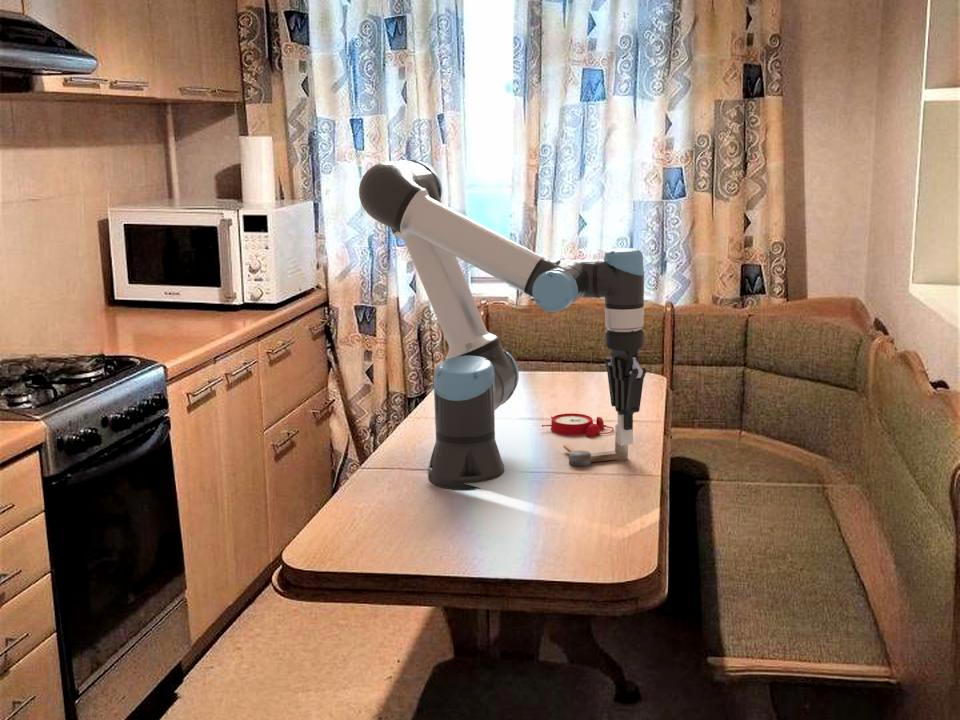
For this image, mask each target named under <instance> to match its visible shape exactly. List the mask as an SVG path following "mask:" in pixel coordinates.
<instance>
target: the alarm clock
mask: <svg viewBox="0 0 960 720" xmlns="http://www.w3.org/2000/svg"><path fill="white" fill-rule="evenodd" d="M550 419H551V421H550V422H551V423H550V424H541V427H542V428H544V427H550V431H551V432H552V433H553V434H557V435H561V436H562V435H564V436H582V435H583V436H584V435H585V436H586V438H594V437H596V436H599V435H600V434H601V435H606V434H608V435H609V434H611V433H612V432H614V431H615V429H614V427H612V426H607V424H605V422H604V420H603V418H602V417H601V416H596V422H595V423H594V420H593V417H591V416H590V415H587V414H582V413H574V412H572V413H561V414H556V415H554V416H551V417H550ZM605 428H607V429H612V430H610V431H609V432H601V431H604V429H605Z"/></svg>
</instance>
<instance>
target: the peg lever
mask: <svg viewBox="0 0 960 720" xmlns="http://www.w3.org/2000/svg"><path fill="white" fill-rule="evenodd" d="M614 428H615V429H614V439H615V440H614V450H611V451H602V452H590V451H587V450H583V449H582V450H575V448H573V447H572V446H571V445H569V444H566V443H565V444H563V449H565V450H566V451H567V452H568V464H569V465H570V466H572V467H577V468H582V467H583V468H584V467H588V466H591V465H592V463H595V462H603V461H604V462H605V461H612V460H616V461H622V462H623V461H627V460H629V445H623V446H620V445H619V444H618V423H617V424H615V425H614Z"/></svg>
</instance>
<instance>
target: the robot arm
mask: <svg viewBox="0 0 960 720" xmlns="http://www.w3.org/2000/svg"><path fill="white" fill-rule="evenodd" d="M442 194H443V188H442V183H441V179H440V177H439V175H438V174H437V172H436V171H435V169H433V168H432V167H431V166H430V165H428V164H426V163H425V162H422V161H418V160H416V159H401V160H398V161H395V160H394V161H384V162H383V161H382V162H379V163H377V164H375V165H372V166H371V167H370V168H369V169H368V170H367V171H366V172H365V173H364V175H363V176H362V178H361V179H360V182H359V187H358V197H359V201H360V204H361V206H362V207H363V210H364V211H365V212H366V214H367V215H368V216H370V217H371V218H372V219H373V220H374V221H377V222H378V223H380V224H382V225H384V226H386V227H388V228H390V229H391V230H390V231H391V232H392V234H393V236H394V237H395V238H396V237H397V238H399V239H401V240H403V241H404V244H405V247H406V248H407V251H408V252H409V255H410V258H411V260H412V262H413V265H414V267H415V269H416V272H417V275H418V277H419V279H420V281H421V282H420V283H421V284H422V287H423V289H424V291H425V294H426V295H427V298H428V301H429V302H430V305H431V308H432V309H433V312H434V315H435V317H436V319H437V322H438V324H439V327H440V329H441V331H442V334H443V336H444V338H445V340H446V343H447V345H448V351H447V354H446V356H445V359H444V360H443V361H440V362H439V363H438V365H436V367H435V369H434V372H433V375H434V376H433V377H434V378H433V383H432V385H433V387H432V388H433V395H434V397H433V399H434V417H435V418H434V423H435V424H434V425H435V443H434V446H433V449H432V452H431V456H430V461H429V464H428V466H427V478H428V481H429V482H430V483H431V484H433V485H435V486H437V487H440V488H444V489H450V490H459V491H460V490H476V489H480V487H478V486H475V485H471V484H477V483H484V482H488V481H491V480H494V479H497V478H499V477H500V476H502V475H503V474H504V473H505V464H504V462H503V460H502V457H501V453H500V449H499V447H498V444H497V441H496V432H495V431H496V430H495V428H496V426H495V425H496V424H495V422H496V421H495V419H496V418H495V417H496V416H495V411H496V410H497V409H498V408H499V407H500V406H501V405H504V404H505V403H506V402H507V401H508V400H510V398H511V397H512V396H513V394H514V392H515V391H516V389H517V386H518V384H519V380H520V379H519V377H520V374H519V367H518V364H517V361H516V360H515V359H514V357H513V356H512V354H511V353H509V352H508V351H506V350H505V349H503V346H502V344H501V342H500V339H499V337H498V335H496V334H494V333H491V332H489V331H488V329H487V327H486V325H485V323H484V320H483V318H482V315H481V312H480V311H479V309H478V305H477V303H476V301H475V298H474V296H473V294H472V291H471V289H470V287H469V284H468V281H467V279H466V277H465V275H464V272H463V270H462V267H461V265H460V263H459V260H458V258H459V259H460V260H462V261H464V262H465V263H468V264H470V265H471V266H473V267H475V268H477V269H479V270H480V271H483V272H484V273H486V274H488V275H490V276H492V277H494V278H496V279H498V280H499V281H501V282H504V283H505V284H507V285H509V286H511V287H513V288H514V289H517V290H518V291H521V292H522V293H523V294H526V295H527V296H529V297H530V298H533V300H534V302H535V304H536V305H537V306H538V307H539V308H540V309H542V310H544V311H547V312H551V313H554V312H559V311H562V310H563V311H564V310H566V309H567V308H569V307H571V306H572V304H573V303H575V302H576V301H578V300H579V299H593V298H595V299H604V326H605V328H606V330H605V332H604V334H605V335H604V336H605V337H604V338H605V339H604V340H605V345H604V346H605V347H606V349H608V350H611V352H610V357H605V358H604V364H605V368H606V374H607V381H608V387H609V388H608V390H609V397H610V404H611V407H614V408H615V411H616V412H617V424H618V444H619V445H620V446H623V445H628V446H629V445H633V443H634V438H633V437H634V418H633V417H634V414H635V413H639V412H640V408H641V402H642V401H641V400H642V393H643V387H644V386H643V385H644V379H645V376H646V374H647V368H646V367H641V366H640V357H639V350H642V349H644V346H645V330H644V329H643V327H644V325H645V322H644V320H645V318H644V317H645V316H644V315H645V309H644V305H645V304H644V303H645V302H644V300H645V295H644V294H645V270H644V255H643V252H642V251H641V250H640V249H637V248H630V247H629V248H628V247H627V248H623V247H622V248H611V249H607V250H605V252H604V256H603V258H600V259H566V258H560V259H550V260H549V259H547V258H545V257H543V256H542V255H540V254H539V253H536V252H535V251H533V250H531V249H528V248H527V247H525V246H523V245H521V244H519V243H517V242H516V241H513V240H511V239H509V238H507V237H506V236H504V235H502V234H500V233H499V232H496V231H495V230H493V229H490V228H489V227H487V226H485V225H483V224H481V223H480V222H477V221H475V220H474V219H471V218H470V217H468V216H465V215H464V214H463V213H461V212H458V211H457V210H455V209H453V208H451V207H448V206H447V205H445V204H443V203H442V196H443V195H442Z"/></svg>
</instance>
